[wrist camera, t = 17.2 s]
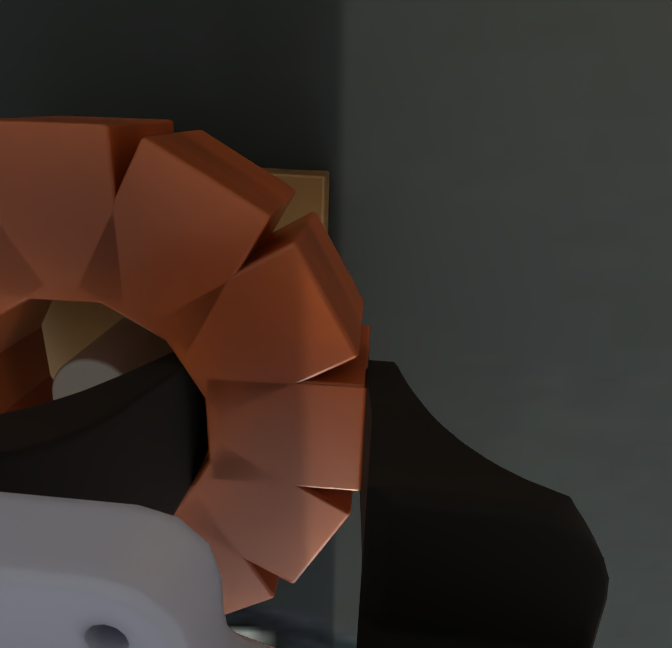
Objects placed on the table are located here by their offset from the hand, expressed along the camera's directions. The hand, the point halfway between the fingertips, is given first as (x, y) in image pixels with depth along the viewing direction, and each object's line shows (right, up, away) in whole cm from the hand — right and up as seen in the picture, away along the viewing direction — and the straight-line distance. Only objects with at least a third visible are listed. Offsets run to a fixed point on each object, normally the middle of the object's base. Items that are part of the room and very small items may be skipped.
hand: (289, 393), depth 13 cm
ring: (-4, +1, +2) cm, 4 cm away
